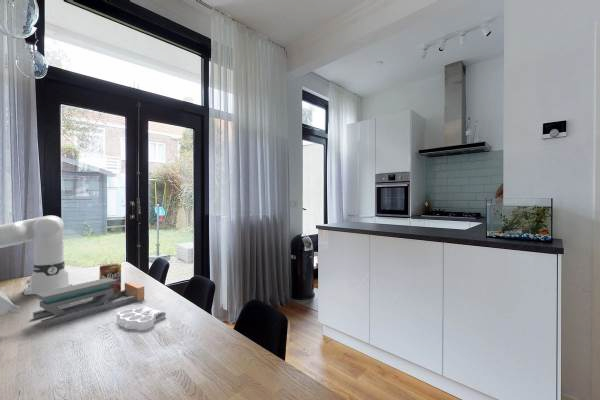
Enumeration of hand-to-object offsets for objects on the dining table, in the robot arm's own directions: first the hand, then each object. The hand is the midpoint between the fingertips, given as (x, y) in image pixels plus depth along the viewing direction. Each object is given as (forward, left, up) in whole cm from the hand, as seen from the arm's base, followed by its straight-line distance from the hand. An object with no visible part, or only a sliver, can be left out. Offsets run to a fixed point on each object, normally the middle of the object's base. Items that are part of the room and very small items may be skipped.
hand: (18, 310), depth 99 cm
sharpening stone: (0, +18, -7) cm, 19 cm away
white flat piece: (+30, +29, -7) cm, 42 cm away
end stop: (0, +40, -7) cm, 40 cm away
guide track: (0, +22, -7) cm, 23 cm away
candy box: (-13, +34, -7) cm, 37 cm away
